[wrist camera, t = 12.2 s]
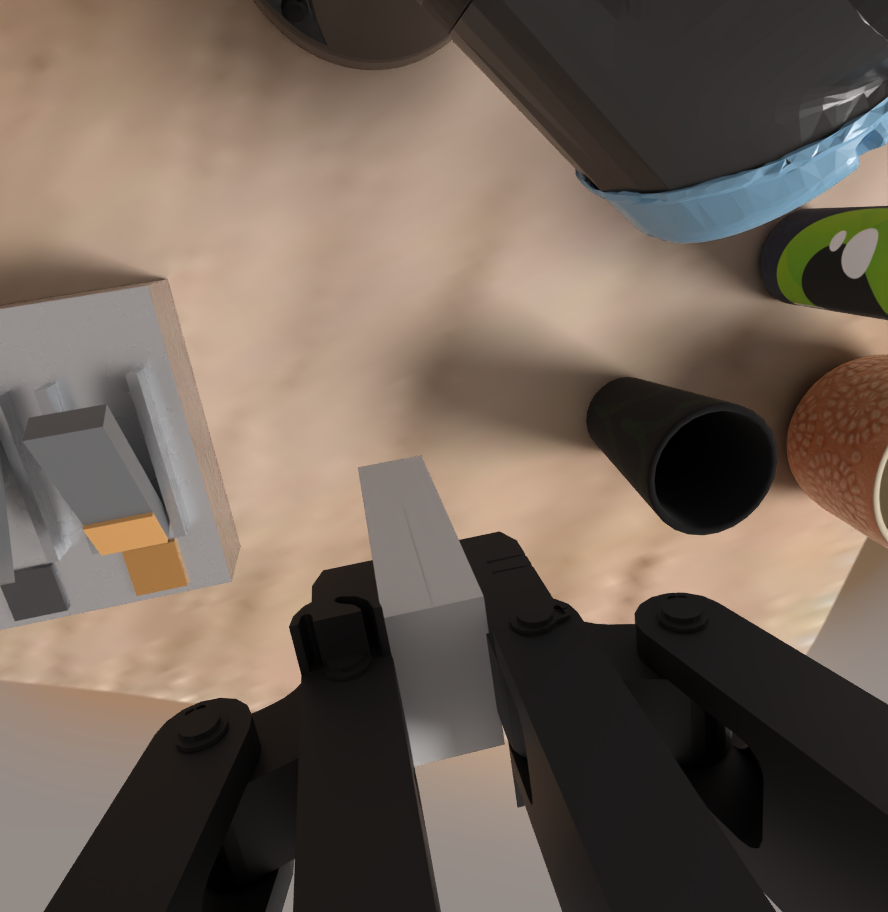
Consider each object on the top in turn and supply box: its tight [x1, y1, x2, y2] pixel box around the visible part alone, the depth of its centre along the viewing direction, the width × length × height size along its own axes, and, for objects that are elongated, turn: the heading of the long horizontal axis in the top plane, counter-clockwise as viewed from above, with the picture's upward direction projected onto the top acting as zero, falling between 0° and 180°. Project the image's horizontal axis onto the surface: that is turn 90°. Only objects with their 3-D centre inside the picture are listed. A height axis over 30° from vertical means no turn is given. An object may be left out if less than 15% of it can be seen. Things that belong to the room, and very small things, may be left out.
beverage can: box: [760, 206, 888, 320], centre depth 40 cm, size 6×6×15 cm
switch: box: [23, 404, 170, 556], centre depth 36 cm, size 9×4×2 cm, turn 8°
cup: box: [586, 377, 777, 535], centre depth 43 cm, size 8×8×12 cm
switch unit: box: [0, 279, 240, 630], centre depth 40 cm, size 18×22×6 cm
